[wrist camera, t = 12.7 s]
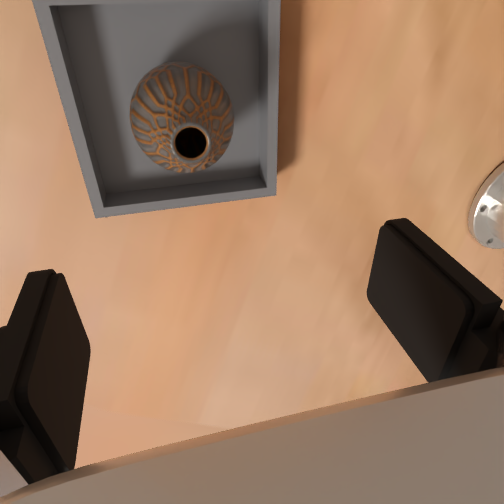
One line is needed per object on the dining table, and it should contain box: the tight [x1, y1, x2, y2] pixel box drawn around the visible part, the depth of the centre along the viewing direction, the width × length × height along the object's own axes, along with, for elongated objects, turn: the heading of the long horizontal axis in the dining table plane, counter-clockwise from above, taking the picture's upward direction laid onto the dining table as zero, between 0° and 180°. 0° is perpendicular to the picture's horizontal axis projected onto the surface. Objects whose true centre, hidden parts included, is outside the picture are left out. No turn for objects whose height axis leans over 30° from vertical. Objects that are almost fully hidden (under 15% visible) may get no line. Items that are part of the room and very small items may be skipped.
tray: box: [32, 0, 281, 218], centre depth 28 cm, size 15×15×3 cm
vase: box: [129, 62, 234, 173], centre depth 25 cm, size 7×7×9 cm
